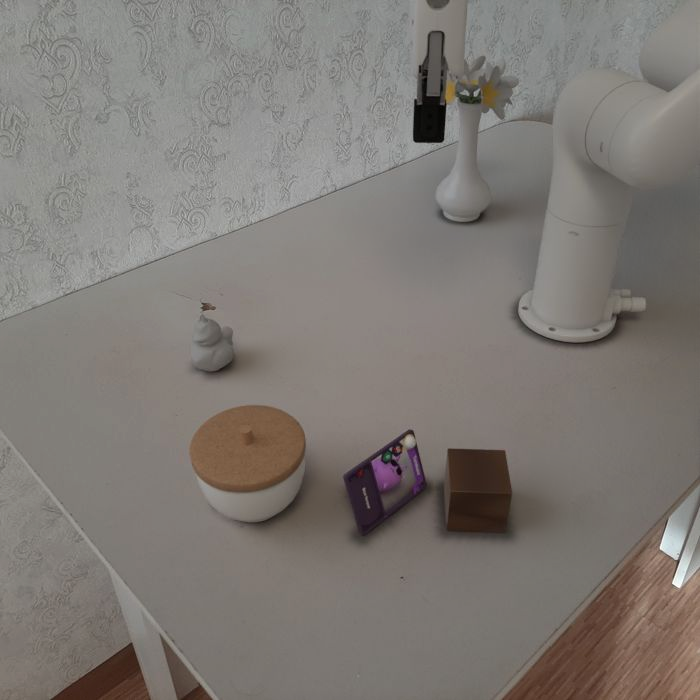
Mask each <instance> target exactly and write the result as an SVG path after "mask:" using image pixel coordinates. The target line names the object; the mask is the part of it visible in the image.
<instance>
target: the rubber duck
mask: <svg viewBox="0 0 700 700" xmlns="http://www.w3.org/2000/svg"><path fill="white" fill-rule="evenodd" d="M233 334H234V330H233V329H232V327H230V326H222V327H221V325H220V324H219V323H218V322H217V321H215V320H214V319H212V318H207V317H206V316H205V315H204V314H203V313H201V314H200V315H199V317H198V319H197V321H196V323H195V324H194V327H193V330H192V339H193V340H192V341H191V342H190V347H189V348H190V349H189V352H190V362H191V365H192V367H194V368H197V369H199V370H202V371H205V372H216V371H219V370H220V369H221V368H224V367H225V366H226V365H228V364H229V363H230V362H232V361H233V359H234V348H233V337H234V336H233Z"/></svg>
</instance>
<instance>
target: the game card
mask: <svg viewBox="0 0 700 700" xmlns="http://www.w3.org/2000/svg"><path fill="white" fill-rule="evenodd" d="M401 441H402V443H401ZM403 450H406V453H407V455H408V458H409V461H410V463H411V467H412V470H413V474H414V479H415V483H414V484H413V485H412V490H411V491H410V492H409V493H408V494H407V495H405V496H404V497H402V498H401V499H400V500H399V501H397V502H396V503H395V504H393V505H392V506H391V507H390V508H388V509H387V510H385V506H384V503H383V500H382V496H381V492H385V491H388V490H390V489H392V488H394V487H396V486H397V485H398V484H399V483H400V482H403V481H404V480H403V479H404V478H406V477H407V476H404V474H403V471H405V470H407V469H408V465H407V466H406V465H405V466H401V464H400V463H399V460H400V458H401V455H402V454H403ZM380 456H381V457H380ZM393 456H394V457H395V458H393ZM378 457H379V458H378ZM342 479H343V482H344V485H345V490H346V492H347V495H348V499H349V502H350V506H351V509H352V512H353V516H354V519H355V523H356V526H357V529H358V533H359V535H361V536H363V537H364V536H365V535H367V534H368V533H369V532H371V531H372V530H374V529H375V528H376V527H377V526H378V525H379V524H381V523H382V522H383V521H385V520H387V519H388V518H389V517H390V516H391V515H393V514H394V513H395V512H397V511H398V510H399V509H400V508H402V507H403V506H404V505H406V504H407V503H408V502H409V501H411V500H412V499H413V498H415V497H416V496H417V495H418V494H420V493H421V492H422V491H423V490H425V489H426V487H427V486H428V484H427V480H426V476H425V471H424V467H423V464H422V460H421V454H420V452H419V448H418V443H417V439H416V435H415V431H414V430H413V429H407V430H406V431H404V432H402V433H401V434H399V436H398V437H396V438H394V439H393V440H392V441H390V442H389V443H387V444H385V445H384V446H383V447H382V448H380V449H379V450H377V451H376V452H374V453H373V454H371V455H370V456H368V457H367V458H366V459H364V460H362V461H361V462H359V464H357V465H356V466H354V467H353V468H351V469H350V470H349V471H347V472H346V473H344V474H343V476H342Z"/></svg>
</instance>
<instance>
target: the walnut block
mask: <svg viewBox="0 0 700 700" xmlns="http://www.w3.org/2000/svg"><path fill="white" fill-rule="evenodd" d="M445 460H446V461H445V468H444V469H445V471H444V480H443V497H444V513H445V528H446V531H447V532H466V533H467V532H470V533H471V532H472V533H495V534H496V533H498V534H505V533H506V531H507V525H508V519H509V514H510V509H511V504H512V503H511V501H512V497H513V489H512V484H511V483H512V482H511V477H510V471H509V465H508V459H507V452H506V450H505V449H485V448H484V449H482V448H480V449H479V448H453V447H452V448H451V447H450V448H447V450H446V458H445Z"/></svg>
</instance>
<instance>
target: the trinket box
mask: <svg viewBox="0 0 700 700" xmlns="http://www.w3.org/2000/svg"><path fill="white" fill-rule="evenodd" d="M306 441H307V439H306V433H305V431H304V428H303V426H302V425H301V424H300V422H299V421H298V420H297V419H296V418H295V417H294V416H292V415H291V414H290V413H288V412H286V411H284V410H282V409H281V408H277V407H274V406H270V405H262V404H248V405H247V404H246V405H240V406H236V407H231V408H229V409H226V410H223V411H221V412H218V413H217V414H215V415H213V416H212V417H210V418H208V419H207V420H206V421H204V422H203V424H201V425H200V427H199V428H197V430H196V431H195V433H194V434H193V437H192V439H191V441H190V445H189V458H190V463H191V466H192V468H193V471H194V475H195V478H196V482H197V485H198V487H199V489H200V492H201V493H202V495H203V496H204V498H205V500H206V501H207V502H208V504H209V505H210V506H211V507H212V508H213V509H214V510H215V511H216V512H217V513H220V514H221V515H223V516H224V517H226V518H229V519H231V520H235V521H239V522H244V523H248V524H249V523H251V524H252V523H262V522H264V521H267V520H270V519H271V518H273V517H275V516H276V515H278V514H279V513H281V512H282V511H284V510H285V509H286V508H287V507H288V506H289V505H290V504H291V503H292V502H293V501H294V500H295V498H296V497H297V495H298V494H299V491H300V489H301V487H302V483H303V480H304V476H305V470H306V447H307V442H306Z"/></svg>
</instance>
